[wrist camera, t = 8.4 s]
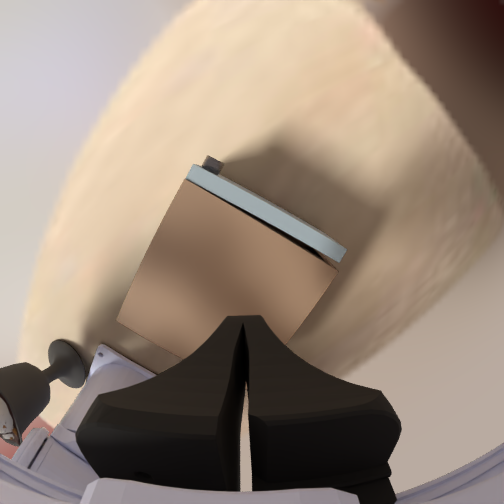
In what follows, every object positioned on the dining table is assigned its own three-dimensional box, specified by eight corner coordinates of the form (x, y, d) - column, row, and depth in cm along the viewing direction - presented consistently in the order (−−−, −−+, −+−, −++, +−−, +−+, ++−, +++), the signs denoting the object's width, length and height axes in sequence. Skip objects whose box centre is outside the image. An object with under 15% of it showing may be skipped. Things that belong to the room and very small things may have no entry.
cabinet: (248, 347, 21) (248, 390, 16) (142, 289, 20) (115, 320, 15) (317, 248, 19) (338, 271, 15) (201, 178, 18) (184, 178, 13)
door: (318, 243, 19) (339, 262, 15) (200, 178, 18) (185, 178, 13) (330, 224, 19) (354, 238, 14) (211, 157, 18) (199, 151, 13)
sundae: (94, 349, 21) (-40, 431, 6) (92, 406, 21) (-7, 493, 6) (43, 319, 21) (-82, 366, 6) (44, 375, 22) (-56, 434, 7)
